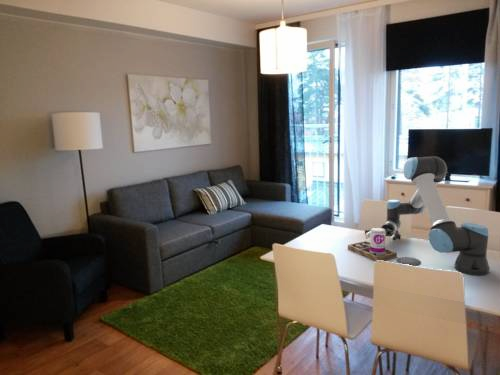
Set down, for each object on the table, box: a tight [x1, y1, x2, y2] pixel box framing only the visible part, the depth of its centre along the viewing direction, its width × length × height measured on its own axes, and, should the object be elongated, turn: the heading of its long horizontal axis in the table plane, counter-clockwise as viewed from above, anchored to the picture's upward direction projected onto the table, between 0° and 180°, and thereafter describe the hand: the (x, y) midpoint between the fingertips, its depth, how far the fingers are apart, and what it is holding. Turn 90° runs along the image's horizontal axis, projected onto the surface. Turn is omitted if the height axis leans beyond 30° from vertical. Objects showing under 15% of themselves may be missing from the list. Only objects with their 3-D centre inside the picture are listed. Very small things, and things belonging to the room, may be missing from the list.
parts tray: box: [347, 240, 398, 262], centre depth 223 cm, size 24×14×3 cm, turn 26°
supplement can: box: [369, 227, 387, 256], centre depth 218 cm, size 8×8×15 cm
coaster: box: [396, 256, 422, 267], centre depth 208 cm, size 12×12×1 cm
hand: (378, 238), depth 220 cm, fingers open, 13 cm apart
